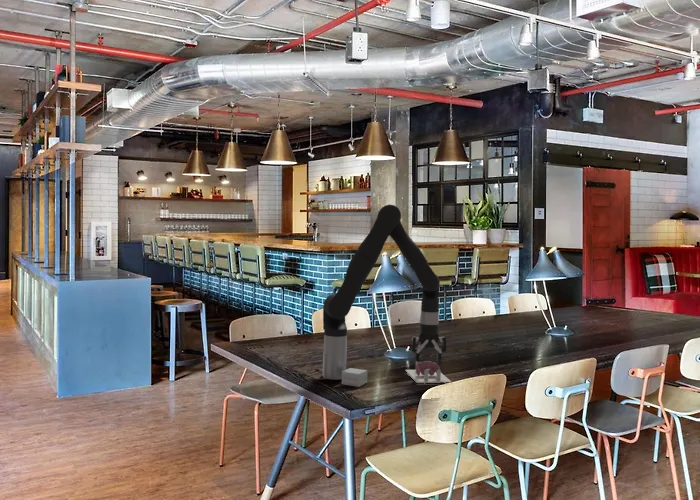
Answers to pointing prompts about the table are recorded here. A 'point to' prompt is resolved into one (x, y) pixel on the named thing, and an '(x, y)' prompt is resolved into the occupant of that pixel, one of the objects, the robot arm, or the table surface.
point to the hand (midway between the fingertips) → (428, 362)
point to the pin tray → (430, 378)
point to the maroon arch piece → (427, 367)
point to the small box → (354, 377)
